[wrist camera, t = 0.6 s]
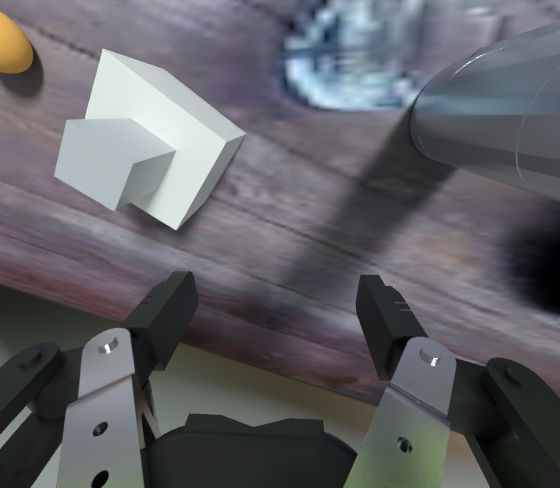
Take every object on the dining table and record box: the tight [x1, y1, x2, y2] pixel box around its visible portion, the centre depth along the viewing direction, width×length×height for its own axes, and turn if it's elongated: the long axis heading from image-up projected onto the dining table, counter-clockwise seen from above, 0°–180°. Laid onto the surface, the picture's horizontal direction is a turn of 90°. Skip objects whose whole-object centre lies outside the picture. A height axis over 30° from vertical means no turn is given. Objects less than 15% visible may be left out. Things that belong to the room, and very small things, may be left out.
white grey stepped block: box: [54, 49, 246, 230], centre depth 21 cm, size 10×10×15 cm
